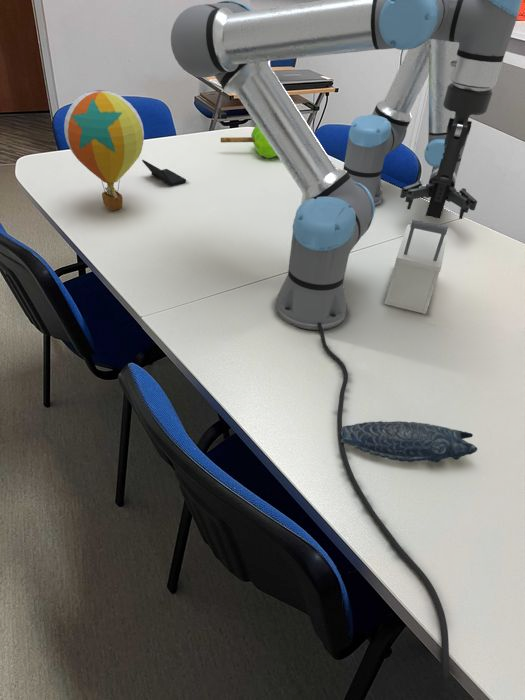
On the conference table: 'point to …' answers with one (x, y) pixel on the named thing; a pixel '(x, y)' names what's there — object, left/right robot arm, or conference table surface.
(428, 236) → the lid
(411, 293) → the chest
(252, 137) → the decorative tree
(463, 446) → the fish model
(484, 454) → the conference table surface
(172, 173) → the black angular block
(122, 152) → the toy
